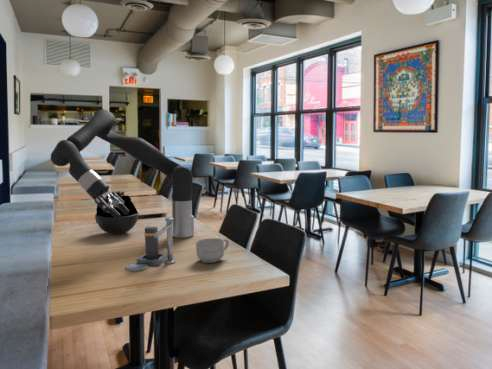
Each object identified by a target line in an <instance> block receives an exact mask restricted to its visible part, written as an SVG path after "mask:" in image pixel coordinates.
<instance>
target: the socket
mask: <svg viewBox="0 0 492 369" xmlns="http://www.w3.org/2000/svg"><path fill="white" fill-rule="evenodd" d="M165 260H168V257H167V253H160V252H159V258H158V259H146V252H144V253H143V254H142V255H140V256H139V257H138V258H136V263H137V264H147V265H148V266H158V267H159V266H161V265H163V263H165Z"/></svg>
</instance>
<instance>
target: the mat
mask: <svg viewBox="0 0 492 369" xmlns="http://www.w3.org/2000/svg"><path fill="white" fill-rule="evenodd" d="M148 268H149V265H147V264H137V262H136V263H131V264H128V265H126V266H125V270H126V271H128V272H141V271H140V270H142V271H145V270H147V269H148ZM144 269H145V270H144Z"/></svg>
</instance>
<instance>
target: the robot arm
mask: <svg viewBox="0 0 492 369" xmlns="http://www.w3.org/2000/svg"><path fill="white" fill-rule="evenodd" d="M115 124H116V118H115V115H114V114H113V113H112V112H111V111H110V110H107V109H97V110H96V112H95V113H94V114H93V115H92V117H91V118H90V119H89V120H88V121H87V122H86V123H85V124H84V125H83V126H82V127H80V128H79V129H78V130H77V131H75V132H73V133H72V134H71V135H70V136H68V137H67V138H66V139H62V140H59V141H58V142H57V143H56V146H55V147H54V149H53V150H52V151H51V154H50V161H51V162H52V164H54V165H55V166H57V167H65V166H67V165H69V167H68V173H69V174H70V176H71V177H72V178H73V179H74V180H75V181H76V182H77V183H78V184H79V185H80V187H81V188H82V190H84V191H85V192H86V193H87V195H89V197H91V199H92V200H93V201H94V202H95V204H96V206H97V205H98V206H99V207H100V208H101V209H102V210H103V211H104V212H108V213H109V212H110V214H111V215H112V216H113V217H114V218H115V219H118V218H119V217H120V216H121V215H120V214H119V213H118V212H117V211H116V210H115V209H113V206H116V207H118V208H119V209H120V210H121V211H122V212H123V213H124V214H125V215H127V214H128V213H129V210H128V209H127V208H126V207H125V206H124V205H123V204H124V201H123V200H122V199H121V198H120V197H119V196H118V195H117V194H116V191H114V190H113V191H112V192H110V191H109V189H110V185H109V184H108V183H107V182H106V181H105V180H104V179H103V177H101V176H100V175H99V174H98V172H95V171H94V169H92V168H91V167H90V165H88V164H87V163H86V161H85V160H84V158H83V156H82V154H81V151H83V150H84V149H85V148H87V147H88V146H89V145H90V144H91V143H92V142H93V140H94V139H95V138H96V137H98V138H99V139H101V140H103V141H105V142H107V143H108V144H111V145H113V146H115V147H117V149H120V150H122V151H123V152H125V153H127V154H128V155H129V156H131V157H133V158H134V159H135V160H137V161H139V162H140V163H142V164H144V165H146V166H148V167H150V168H152V169H155V170H157V171H159V172H161V173H162V174H163V175H165V176H166V177H167V178H169V179H170V180H171V181H172V184H171V185H172V187H171V188H172V193H171V210H172V211H171V212H172V213H171V215H172V217H171V218H174V221H172V238H173V237H174V238H177V239H178V238H179V239H184V238H185V239H186V238H190V237H192V236H193V235H194V236H195V219H194V218H195V216H194V215H193V208H192V207H193V203H192V202H193V200H192V199H193V198H192V197H193V173H192V171H191V170H190V168H188V167H187V166H185V165H181V164H180V163H178V162H177V161H174V160H172V159H170V158H169V157H168V156H166V155H165V154H164V153H163V152H161V150H160V149H158V148H157V147H155V146H154V145H153V144H151V143H150V142H148V141H146V140H145V139H143V138H142V137H137V136H128V135H127V136H125V135H121V134H118V133H117V132H114V131H113V130H112V128H113V127H114V125H115Z"/></svg>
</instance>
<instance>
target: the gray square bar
mask: <svg viewBox="0 0 492 369" xmlns="http://www.w3.org/2000/svg"><path fill="white" fill-rule="evenodd" d="M164 221H165V222H166V224H165V225H164V226H163V227H162V228H161V229H160V230H158V232H157V233H156V234H155V235H154V238H158V239H159V238H160V237H161V236H163V234H164V233H165V232H167V229H168V228H170V221H174V218H172V217H165V219H164Z"/></svg>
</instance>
